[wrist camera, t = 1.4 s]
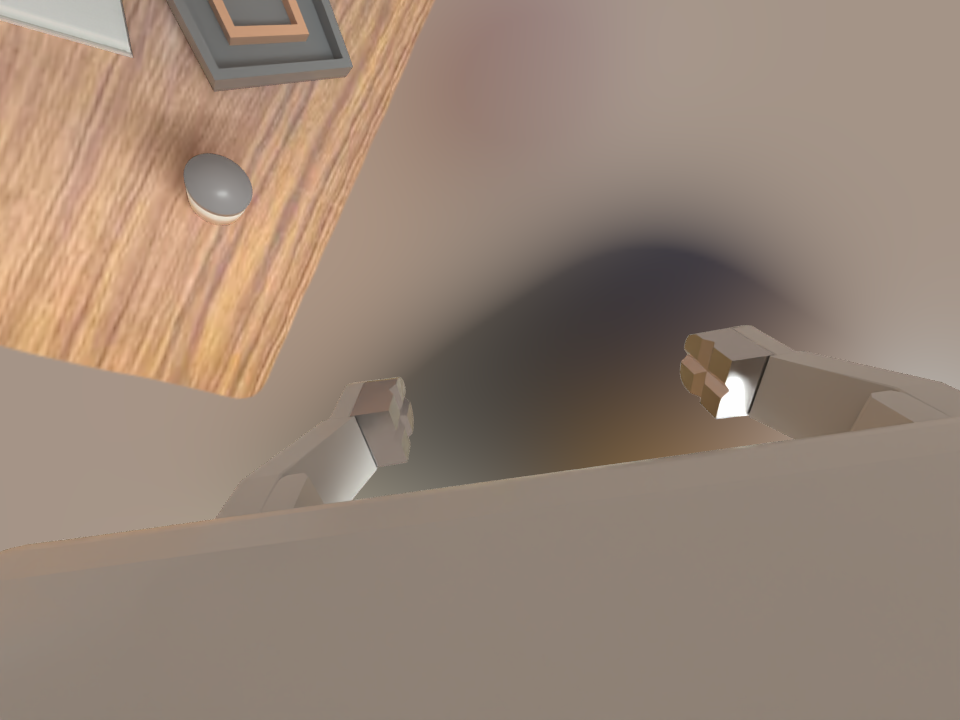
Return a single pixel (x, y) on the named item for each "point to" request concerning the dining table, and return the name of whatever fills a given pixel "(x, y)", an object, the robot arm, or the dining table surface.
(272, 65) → the walled box
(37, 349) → the dining table surface
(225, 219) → the white bottle
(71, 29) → the hard drive
